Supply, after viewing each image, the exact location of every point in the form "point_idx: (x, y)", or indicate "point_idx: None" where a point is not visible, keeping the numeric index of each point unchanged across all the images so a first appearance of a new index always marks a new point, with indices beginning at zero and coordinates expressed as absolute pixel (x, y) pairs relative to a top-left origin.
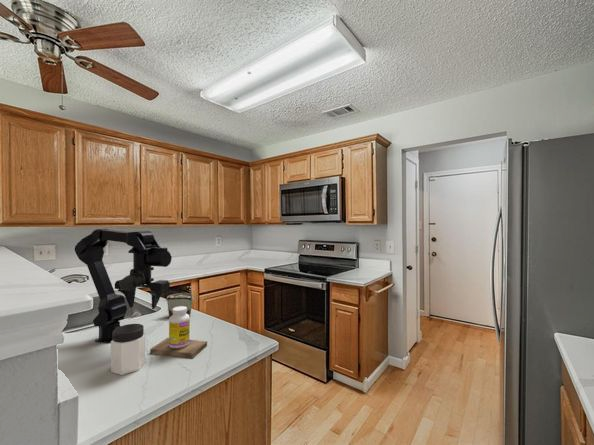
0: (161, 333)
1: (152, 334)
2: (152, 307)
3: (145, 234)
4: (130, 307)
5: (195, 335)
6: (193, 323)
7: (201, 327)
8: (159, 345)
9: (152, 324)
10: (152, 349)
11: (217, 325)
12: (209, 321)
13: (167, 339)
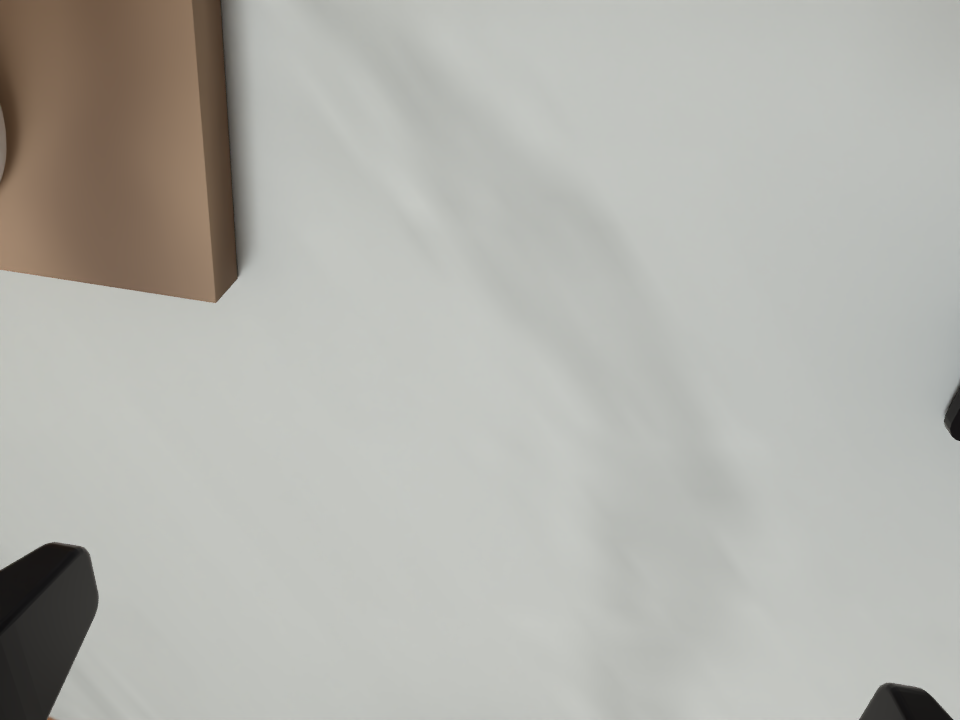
0: (465, 487)
1: (561, 464)
2: (19, 574)
3: None
4: (900, 685)
5: (39, 439)
6: (272, 687)
7: (124, 606)
8: (139, 53)
9: (715, 687)
10: None
11: None
12: (146, 715)
13: (175, 253)
